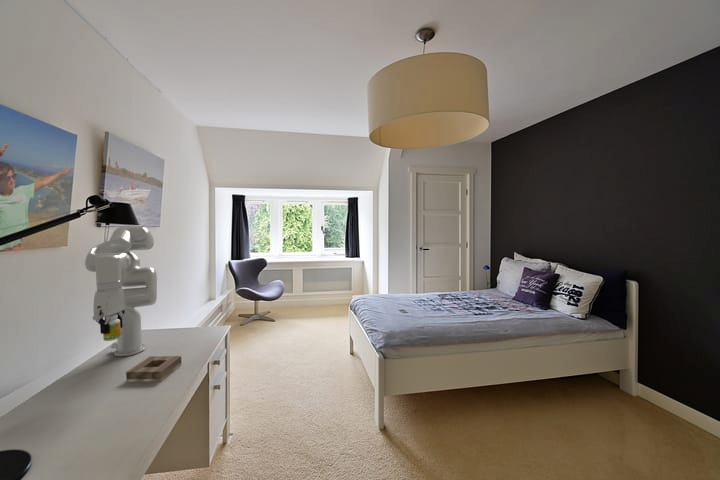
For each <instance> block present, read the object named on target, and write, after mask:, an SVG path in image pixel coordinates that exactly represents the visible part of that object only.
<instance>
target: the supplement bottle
mask: <svg viewBox="0 0 720 480" xmlns="http://www.w3.org/2000/svg"><path fill="white" fill-rule="evenodd" d="M117 318H118V316H117V314H113V315H110V316H109V320H108V323H109V325H110V333H109V334H102V335H103V337H102V338H103V341H105V342H112V341H115V340H117V339H119V338H120V337H121V329H120V320H119V319H117ZM103 319H104V320H105V317H103Z"/></svg>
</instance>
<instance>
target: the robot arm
mask: <svg viewBox="0 0 720 480" xmlns="http://www.w3.org/2000/svg"><path fill="white" fill-rule="evenodd" d="M154 243H155V241H154V236H153V235H152V232H151V231H150V230H149V228H147V227H144V226H120V227H117V228H116V229H114V231H113V232H112V234H111V237H110V238H109V240H106V241H104V242H101V243H99V244H97V245H95V246H93V247H92V248H91V249H90V250H89V251H88V253H87V254H86V256H85V260H84V266H85V269H86V270H87V271H89V272H91V273H95V278H96V291H95V292H94V297H93V316H92V320H93V321H95V322H96V323H98V325H99V328H100V330H99V331H100V334H101V335H103V334H109V333H110V325H109V323H108V320H109V316H110V315H113V314H117V316H118V318H117V319H119V320H120V329H121V337H120V338H119V339H116V340H117V342H113V343H112V344H111V345H110V349H115V350H114V352H113V354H114V356H115V357H128V356H132V355H136V354H139V353H141V352H143V351H145V350H146V348H147V345H146V344H145V343H143V340H142V337H143V336H142V319H141V318H142V317H141V313H140V312H139V311H138V310H137V309H136V308H141V307H148V306H149V307H150V306H153V305H155V304H156V303H157V297H158V296H157V295H158V292H157V291H158V290H157V289H158V275H157V271H156V269H155V268H154V267H150V266H148V267H146V266H145V267H140V266H141V259H140V258H139V257H138V256H137V254H135V253H133V252H132V251H147V250H151V249H153V247H154ZM104 318H105V319H104Z"/></svg>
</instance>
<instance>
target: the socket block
mask: <svg viewBox="0 0 720 480" xmlns="http://www.w3.org/2000/svg"><path fill="white" fill-rule="evenodd" d="M182 365H183V364H182V355H176V356H175V355H173V356H172V355H171V356H170V355H166V356H164V355H163V356H161V355H159V356H158V355H157V356H156V355H155V356H153V355H152V356H150V355H149V356H148V357H147V358H146V359H144V360H142V361H140V362H139V363H138V364H136V365H135V366H133V367H132V368H130V369H129V370H127V371H126V372H125V375H126V379H125V380H126V382H127V383H128V382H129V383H130V382H131V383H132V382H133V383H134V382H139V383H140V382H162V381H164V380H165V379H166V378H168V377H169V376H170V375H171V374H172V373H173V372H174V371H176V370H177V369H178V368H180V366H182Z"/></svg>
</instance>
